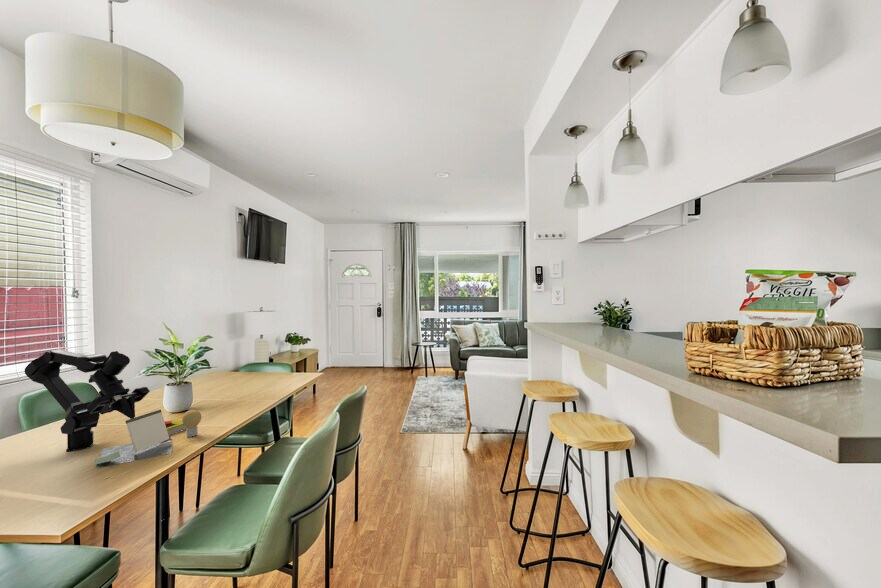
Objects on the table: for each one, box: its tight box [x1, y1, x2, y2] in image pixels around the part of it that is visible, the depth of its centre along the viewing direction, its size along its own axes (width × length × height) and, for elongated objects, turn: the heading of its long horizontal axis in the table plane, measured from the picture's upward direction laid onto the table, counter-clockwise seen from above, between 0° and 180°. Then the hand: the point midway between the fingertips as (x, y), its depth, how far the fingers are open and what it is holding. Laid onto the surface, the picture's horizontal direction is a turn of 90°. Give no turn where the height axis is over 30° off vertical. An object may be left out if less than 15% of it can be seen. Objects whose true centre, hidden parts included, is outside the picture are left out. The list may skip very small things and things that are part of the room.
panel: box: [94, 433, 173, 469], centre depth 139 cm, size 20×20×2 cm
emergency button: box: [164, 419, 187, 435], centre depth 162 cm, size 9×4×15 cm
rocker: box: [93, 451, 120, 465], centre depth 129 cm, size 5×4×2 cm
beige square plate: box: [124, 409, 169, 453], centre depth 139 cm, size 1×12×11 cm, turn 167°
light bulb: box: [181, 409, 202, 438], centre depth 156 cm, size 6×6×10 cm
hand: (133, 417), depth 140 cm, fingers closed
